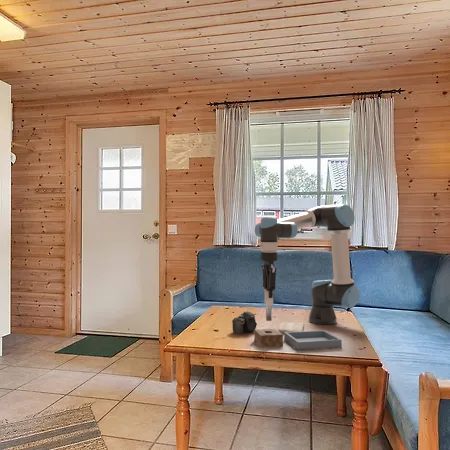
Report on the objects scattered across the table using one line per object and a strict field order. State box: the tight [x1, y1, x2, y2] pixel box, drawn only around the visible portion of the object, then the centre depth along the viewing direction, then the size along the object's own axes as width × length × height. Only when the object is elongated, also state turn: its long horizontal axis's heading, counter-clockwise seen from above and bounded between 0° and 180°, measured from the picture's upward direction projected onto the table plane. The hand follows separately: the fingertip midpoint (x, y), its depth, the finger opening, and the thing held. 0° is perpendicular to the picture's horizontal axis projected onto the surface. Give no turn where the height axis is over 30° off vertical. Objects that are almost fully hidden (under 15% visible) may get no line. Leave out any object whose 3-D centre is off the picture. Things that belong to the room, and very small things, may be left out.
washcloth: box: [278, 321, 305, 335], centre depth 188 cm, size 12×18×3 cm, turn 166°
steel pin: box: [265, 288, 273, 322], centre depth 165 cm, size 2×2×14 cm
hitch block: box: [253, 328, 284, 348], centre depth 164 cm, size 10×10×5 cm
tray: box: [283, 329, 343, 352], centre depth 164 cm, size 20×16×4 cm
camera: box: [231, 310, 258, 336], centre depth 183 cm, size 13×10×10 cm
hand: (268, 304), depth 165 cm, fingers closed on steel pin, 2 cm apart
